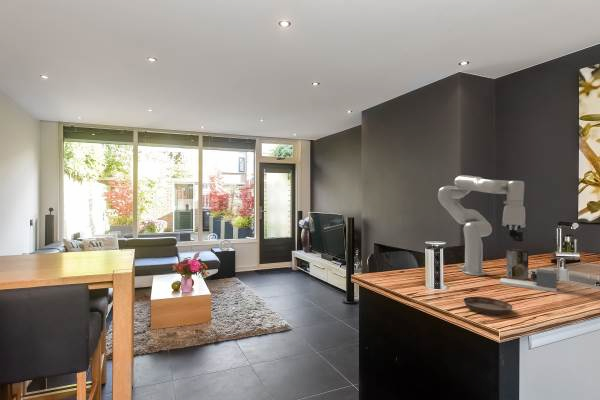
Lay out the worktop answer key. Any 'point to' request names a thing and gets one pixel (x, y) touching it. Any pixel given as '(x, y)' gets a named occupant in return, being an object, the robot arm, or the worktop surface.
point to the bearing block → (546, 278)
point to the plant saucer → (487, 305)
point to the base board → (524, 284)
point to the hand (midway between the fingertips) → (512, 237)
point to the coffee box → (517, 264)
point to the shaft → (534, 276)
